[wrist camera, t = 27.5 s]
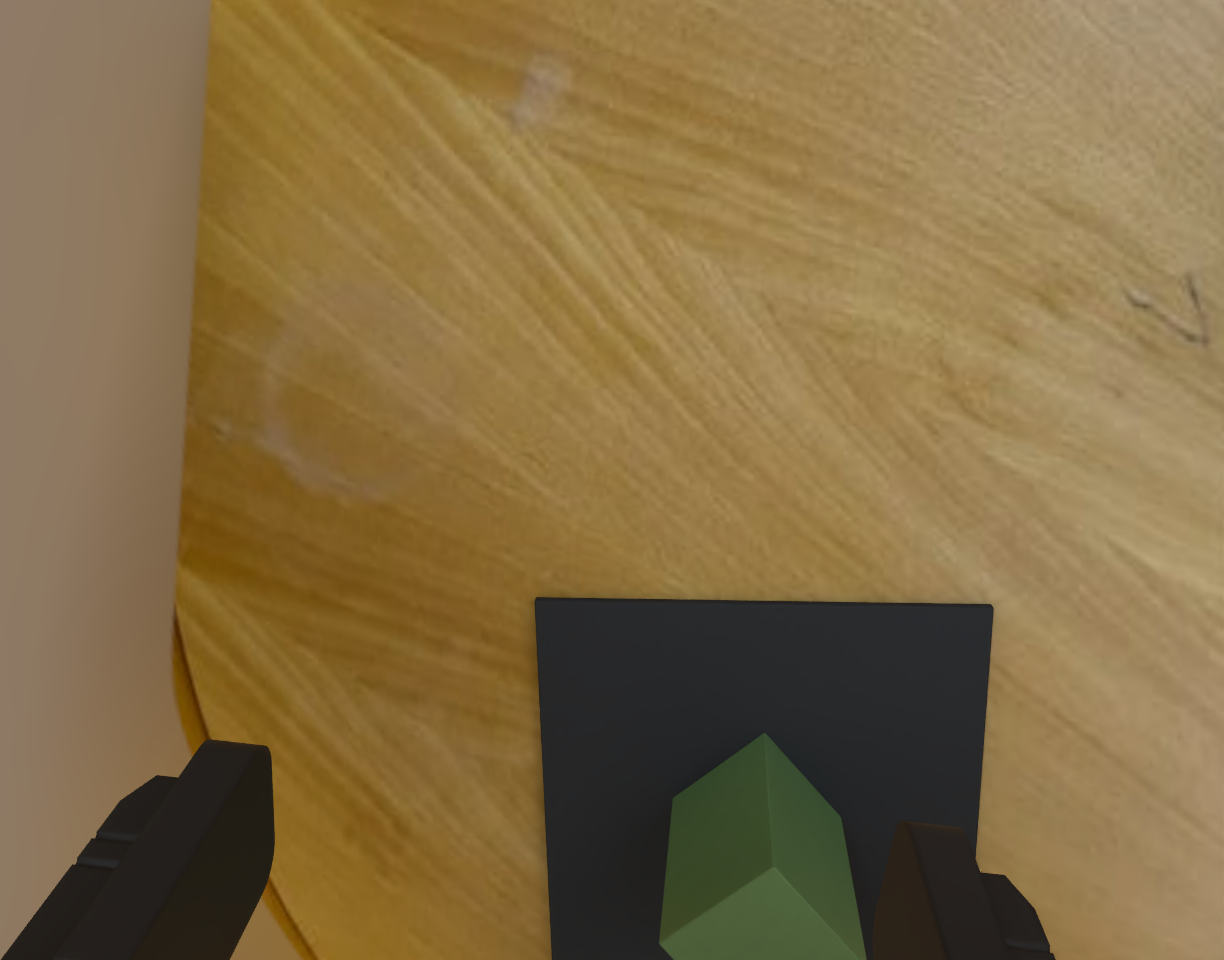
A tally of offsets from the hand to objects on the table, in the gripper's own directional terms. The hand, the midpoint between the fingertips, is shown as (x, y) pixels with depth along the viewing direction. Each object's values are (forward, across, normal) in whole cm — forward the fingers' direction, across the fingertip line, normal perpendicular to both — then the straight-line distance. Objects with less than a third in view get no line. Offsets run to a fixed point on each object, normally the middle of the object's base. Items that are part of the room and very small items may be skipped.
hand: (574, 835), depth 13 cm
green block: (+25, -7, +20) cm, 32 cm away
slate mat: (+26, -7, +19) cm, 33 cm away
